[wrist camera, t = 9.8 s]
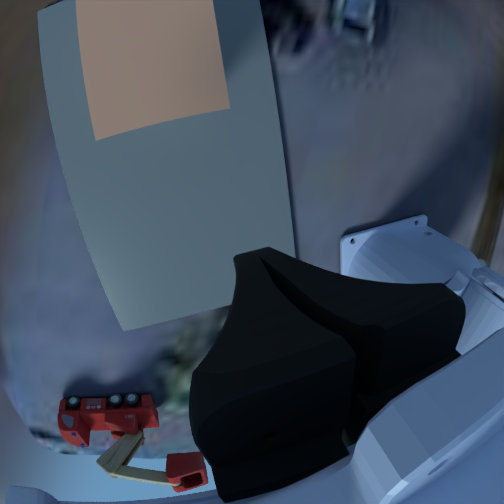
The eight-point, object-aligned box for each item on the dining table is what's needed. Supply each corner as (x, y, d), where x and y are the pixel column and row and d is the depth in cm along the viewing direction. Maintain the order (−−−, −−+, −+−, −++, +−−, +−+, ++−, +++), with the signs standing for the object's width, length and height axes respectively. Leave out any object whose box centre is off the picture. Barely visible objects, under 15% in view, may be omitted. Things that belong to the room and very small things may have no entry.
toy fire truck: (56, 394, 24) (43, 477, 15) (189, 385, 27) (206, 474, 19) (69, 414, 25) (61, 493, 17) (194, 406, 28) (211, 489, 20)
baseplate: (249, -33, 14) (252, -36, 13) (295, 281, 25) (298, 285, 24) (40, 13, 12) (37, 11, 11) (124, 326, 23) (123, 331, 22)
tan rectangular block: (188, -34, 10) (199, -80, 6) (211, 110, 13) (230, 108, 9) (95, -14, 9) (74, -54, 5) (116, 133, 13) (95, 140, 9)
